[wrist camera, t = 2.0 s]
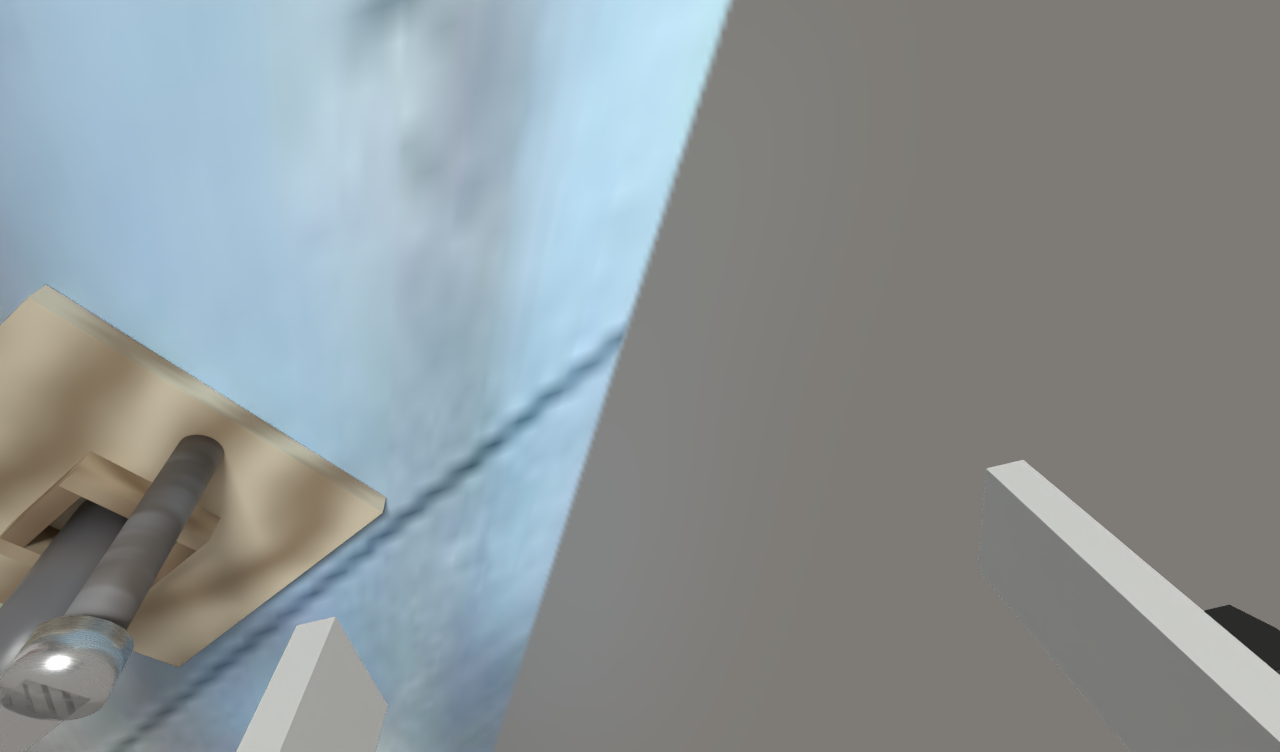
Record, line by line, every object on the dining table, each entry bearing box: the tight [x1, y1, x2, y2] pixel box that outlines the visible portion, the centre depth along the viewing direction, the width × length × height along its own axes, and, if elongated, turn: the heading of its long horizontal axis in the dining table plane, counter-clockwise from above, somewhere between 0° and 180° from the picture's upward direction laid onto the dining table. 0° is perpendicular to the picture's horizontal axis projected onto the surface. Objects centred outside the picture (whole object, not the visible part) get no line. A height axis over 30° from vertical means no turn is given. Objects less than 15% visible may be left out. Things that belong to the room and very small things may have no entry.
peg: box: [0, 500, 128, 676], centre depth 34 cm, size 4×4×12 cm
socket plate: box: [0, 285, 386, 667], centre depth 34 cm, size 22×22×14 cm
